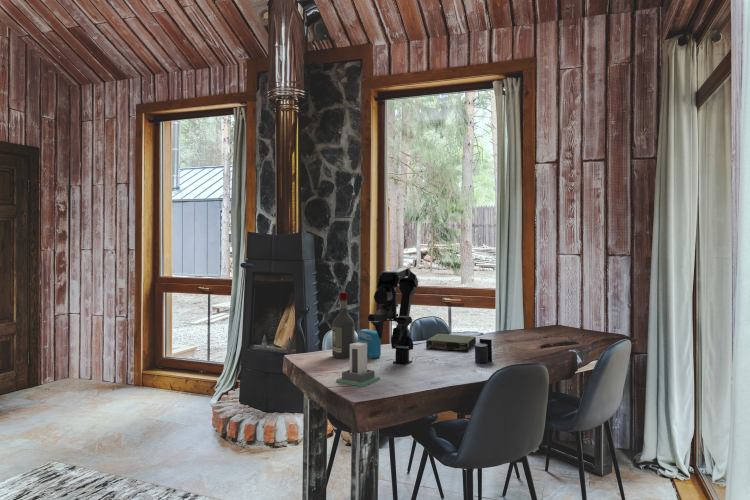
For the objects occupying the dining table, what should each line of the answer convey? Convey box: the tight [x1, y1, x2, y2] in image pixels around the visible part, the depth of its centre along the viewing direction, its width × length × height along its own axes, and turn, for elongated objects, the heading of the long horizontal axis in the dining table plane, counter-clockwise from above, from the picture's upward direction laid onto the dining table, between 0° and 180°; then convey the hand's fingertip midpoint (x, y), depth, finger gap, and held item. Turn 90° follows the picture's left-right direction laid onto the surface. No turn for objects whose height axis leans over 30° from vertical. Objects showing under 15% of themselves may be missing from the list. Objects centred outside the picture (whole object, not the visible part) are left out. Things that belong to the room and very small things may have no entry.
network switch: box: [425, 333, 477, 353], centre depth 253 cm, size 23×23×5 cm
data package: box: [357, 328, 382, 359], centre depth 231 cm, size 12×4×12 cm, turn 40°
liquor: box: [331, 291, 356, 360], centre depth 229 cm, size 9×9×30 cm
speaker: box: [474, 338, 493, 365], centre depth 218 cm, size 8×6×10 cm
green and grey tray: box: [336, 368, 381, 387], centre depth 187 cm, size 12×12×4 cm
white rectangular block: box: [349, 341, 368, 375], centre depth 187 cm, size 5×5×13 cm
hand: (389, 339), depth 202 cm, fingers open, 9 cm apart
